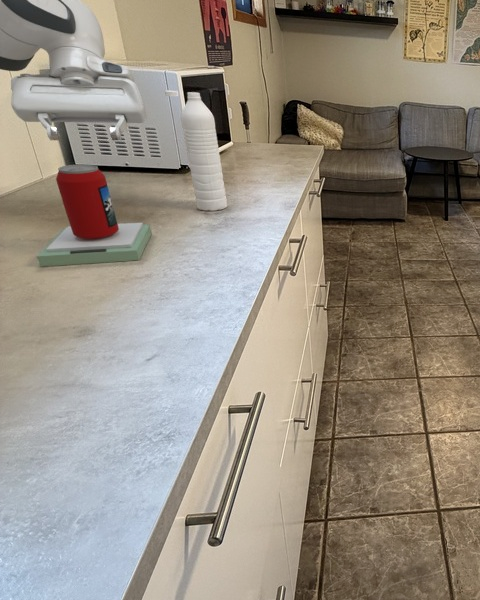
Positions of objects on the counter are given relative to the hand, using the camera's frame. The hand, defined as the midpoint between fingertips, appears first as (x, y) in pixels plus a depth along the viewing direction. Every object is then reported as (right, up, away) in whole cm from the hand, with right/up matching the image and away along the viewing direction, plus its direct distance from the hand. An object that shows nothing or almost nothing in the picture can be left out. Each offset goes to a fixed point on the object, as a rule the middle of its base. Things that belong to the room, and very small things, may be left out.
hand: (85, 138), depth 87 cm
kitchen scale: (+4, -21, -2) cm, 21 cm away
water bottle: (+10, -8, +24) cm, 27 cm away
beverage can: (+4, -19, -3) cm, 19 cm away
